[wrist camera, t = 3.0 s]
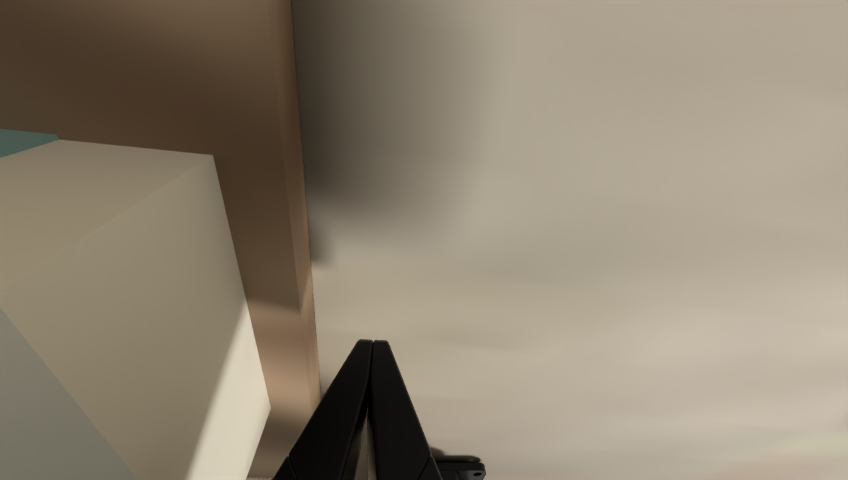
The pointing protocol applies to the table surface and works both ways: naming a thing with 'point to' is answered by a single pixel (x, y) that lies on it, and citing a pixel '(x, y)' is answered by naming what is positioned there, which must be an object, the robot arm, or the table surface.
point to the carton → (121, 317)
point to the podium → (192, 142)
